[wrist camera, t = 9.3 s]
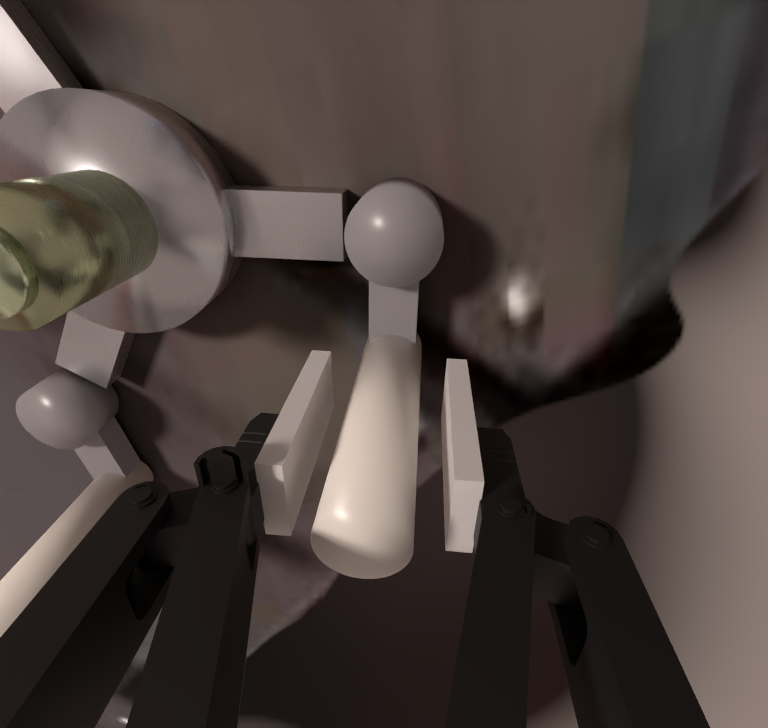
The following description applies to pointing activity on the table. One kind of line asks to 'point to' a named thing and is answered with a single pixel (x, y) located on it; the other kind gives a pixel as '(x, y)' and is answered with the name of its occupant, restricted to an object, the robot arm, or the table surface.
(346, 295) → the table surface
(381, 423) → the knob
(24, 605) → the knob
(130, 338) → the levelling base
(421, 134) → the table surface
